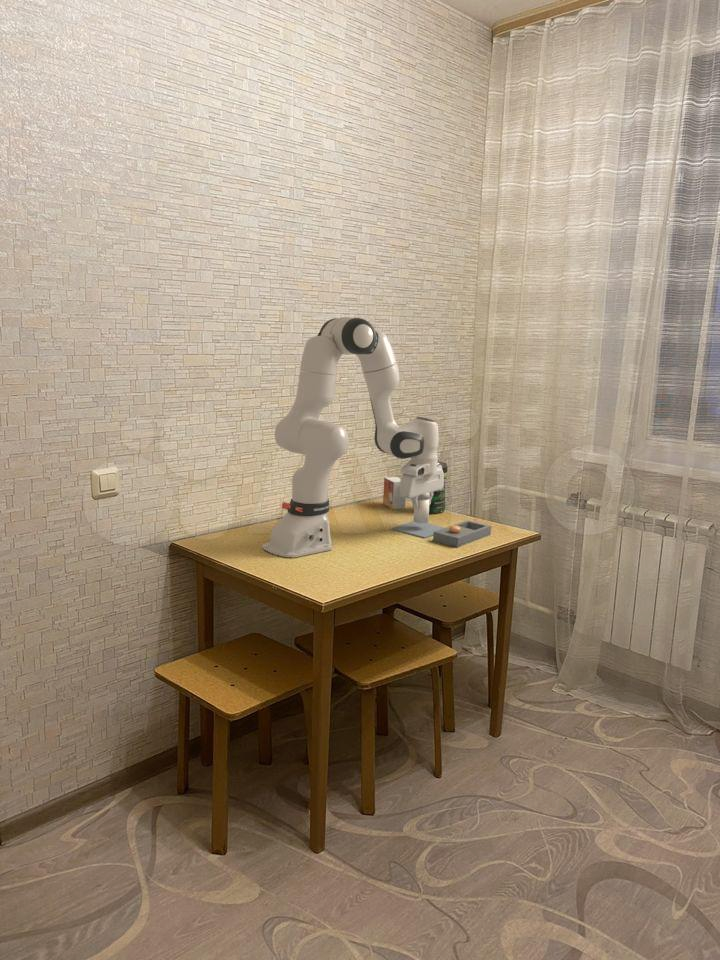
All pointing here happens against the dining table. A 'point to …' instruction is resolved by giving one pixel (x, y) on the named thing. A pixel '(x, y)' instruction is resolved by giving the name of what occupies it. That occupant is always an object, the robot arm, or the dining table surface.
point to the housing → (462, 533)
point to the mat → (418, 529)
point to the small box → (393, 493)
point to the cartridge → (422, 509)
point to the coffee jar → (439, 495)
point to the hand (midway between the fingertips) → (421, 506)
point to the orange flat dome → (454, 529)
